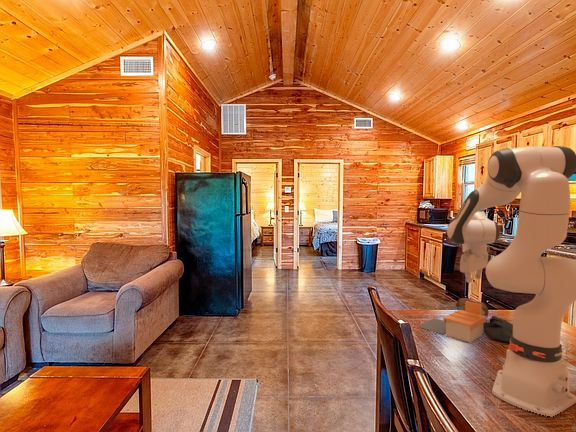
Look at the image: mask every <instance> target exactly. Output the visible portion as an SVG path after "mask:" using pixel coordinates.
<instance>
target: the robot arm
mask: <svg viewBox="0 0 576 432" xmlns="http://www.w3.org/2000/svg"><path fill="white" fill-rule="evenodd" d="M575 172H576V152H575V151H574V150H573V149H572V148H570V147H567V146H563V145H562V146H561V145H554V146H534V145H532V146H531V145H529V146H519V147H513V148H503V149H499V150H496V151H494V152H493V153H492V154H491V155H490V157H489V158H488V162H487V176H486V179H485V180H484V182H483V183H482V184H481V185H480V186H478V188H476V189H474V190H473V191H471V192H469V194H468V195H467V197H466V199H465V200H464V201H463V203H462V205H461V206H460V208H459V210H458V211H457V213H456V215H455V217H454V218H453V219H452V220H451V221H450V222H449V224H448V225H447V230H446V235H447V238H448V239H449V240H450V241H451V242H452V243H453V244H455V245H462V249H461V250H462V253H463V254H461V256H460V260H459V272H461V273H464V276H465V282H466V283H469V284H470V283H472V282H473V278H472V273H473V272H474V273H475V275H474V278H475V279H476V280H481V279H482V272H483V269H485V275H486V276H485V277H486V279H487V281H488V283H489V284H490V285H491V287H493V288H494V289H497V290H501V291H507V292H511V293H519V294H520V293H521V294H533V295H535V296H534V297H533V299H532V300H530V301H528V302H526V303H523V304H521V305H519V306H517V307H516V308H515V310H514V311H513V313H512V325H513V334H512V335H511V339H510V343H509V345H508V349H506V356H505V360H504V364H502V366H501V368H502V369H498V371H497V373H496V377H495V380H494V383H493V386H492V388H491V389H492V391H491V393H492V394H493V395H494V396H495V397H497V398H499V399H500V400H502V401H504V402H506V403H508V404H510V405H511V406H514V407H516V406H517V408H519V409H521V408H522V410H524V411H527V410H528V411H527V412H529V411H531V412H530V413H532V412H534V413H533V414H535V413H537V414H536V415H539V414H541V415H540V416H542V415H544V416H543V417H547V416H550V417H549V418H554V417H556V416H557V414H558V415H560V412H561V413H563V412H564V411H565V410H567V409H568V408H570V407H572V406H573V405H575V404H576V395H575V394H573V393H571V392H570V371H569V368H568V367H567V365H565V363H564V362H563V360H562V358H563V346H562V344H561V332H562V331H561V330H562V325H563V324H562V321H563V319H564V315H565V314H566V312H567V310H568V309H569V308H570V307H571V305H572V304H574V302H576V259H574V258H573V259H572V258H567V257H561V256H560V257H559V256H558V257H554V256H553V257H552V256H542V254H544V253H545V252H546V251H547V250H550V249H552V248H554V247H555V248H556V246H559V245H561V244H562V243H563V242H564V241H565V240H566V238H567V236H568V228H569V220H570V213H571V212H570V211H571V191H570V188H571V187H570V182H569V180H568V179H570V178H571V177H572V176H573V175H574V174H575ZM520 194H521V195H520ZM519 195H520V202H519V211H518V218H517V226H516V231H515V235H514V237H513V239H512V240H511V243H510V244H509V245H508V246H507V247H506V249H504V250H503V251H502V252H501V253H499V254H498V255H495V256H494V257H492V258H491V259H490V260H489V252H490V246H489V245H491V244H495V243H496V242H497V241H498V240H499V239H500V236H501V228H500V225H498V223H497V222H495V221H494V220H491V219H489V218H488V217H487V214H486V212H484V211H482V210H486V209H489V208H495V207H500V206H504V205H508V204H509V203H512V202H513V201H515V200H516V199H517V198H518V196H519ZM487 244H488V245H487ZM545 415H546V416H545ZM555 415H556V416H555ZM553 416H554V417H553Z"/></svg>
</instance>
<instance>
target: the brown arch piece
mask: <svg viewBox="0 0 576 432" xmlns="http://www.w3.org/2000/svg"><path fill="white" fill-rule="evenodd" d="M466 301H469V302H473V303H478V304H482V311H481V315H484V316H486V319H488V316H489V307H488V306H487V305H486V304H485V303H483V302H482V301H477V300H473V299H471V298H466V297H465V298H463V297H461V298H458V300H457V301H456V310H457V311H458V310H463V311H465V302H466Z"/></svg>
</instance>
